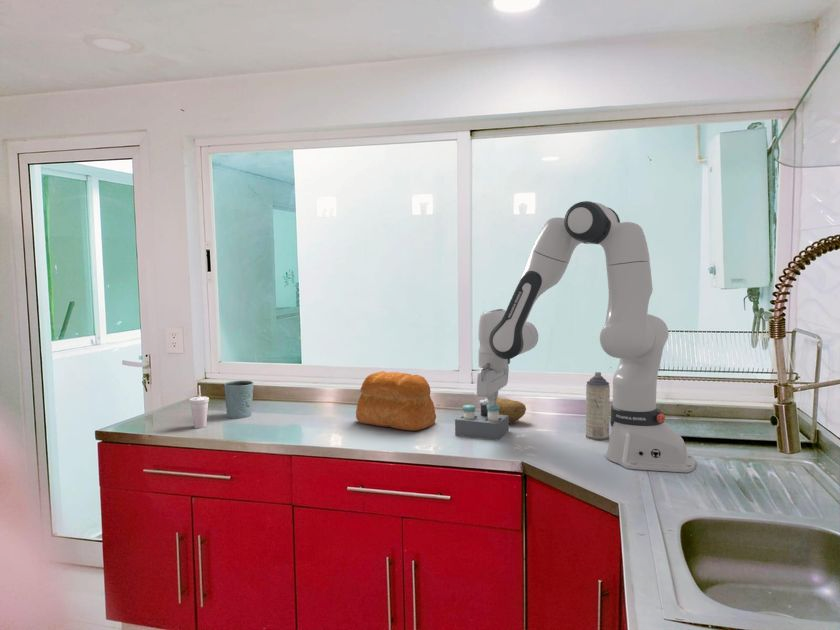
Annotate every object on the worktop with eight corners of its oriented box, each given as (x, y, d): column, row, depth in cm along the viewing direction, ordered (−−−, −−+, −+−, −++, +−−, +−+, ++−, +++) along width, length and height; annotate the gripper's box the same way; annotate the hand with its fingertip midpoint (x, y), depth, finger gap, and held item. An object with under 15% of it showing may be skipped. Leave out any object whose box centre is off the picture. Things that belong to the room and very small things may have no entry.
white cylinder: (477, 427, 189) (477, 405, 189) (472, 430, 186) (472, 408, 185) (465, 426, 191) (465, 404, 191) (461, 429, 188) (460, 407, 187)
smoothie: (213, 424, 203) (211, 383, 202) (205, 429, 196) (203, 387, 195) (195, 424, 203) (193, 383, 202) (186, 429, 197) (184, 387, 196)
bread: (416, 434, 188) (415, 380, 187) (351, 423, 202) (350, 373, 200) (440, 422, 201) (440, 372, 200) (378, 413, 215) (377, 366, 214)
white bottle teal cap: (501, 427, 186) (501, 404, 185) (497, 430, 182) (497, 407, 182) (489, 426, 188) (489, 403, 187) (485, 429, 184) (484, 406, 183)
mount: (508, 430, 190) (508, 400, 189) (498, 440, 180) (498, 408, 179) (467, 426, 196) (467, 396, 195) (455, 435, 186) (454, 404, 185)
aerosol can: (613, 439, 179) (614, 373, 177) (593, 441, 177) (593, 375, 176) (601, 433, 186) (601, 370, 184) (581, 435, 184) (582, 371, 182)
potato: (520, 428, 193) (520, 404, 192) (480, 423, 200) (480, 399, 199) (530, 421, 201) (530, 398, 201) (491, 416, 208) (491, 394, 208)
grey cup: (223, 414, 217) (222, 381, 216) (252, 411, 221) (251, 379, 220) (227, 420, 208) (226, 386, 207) (256, 417, 212) (255, 384, 211)
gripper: (491, 367, 173) (491, 414, 174) (511, 357, 191) (511, 399, 192) (471, 366, 175) (471, 412, 177) (493, 356, 194) (493, 397, 195)
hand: (492, 405), depth 185 cm, fingers closed, pressing on white bottle teal cap
